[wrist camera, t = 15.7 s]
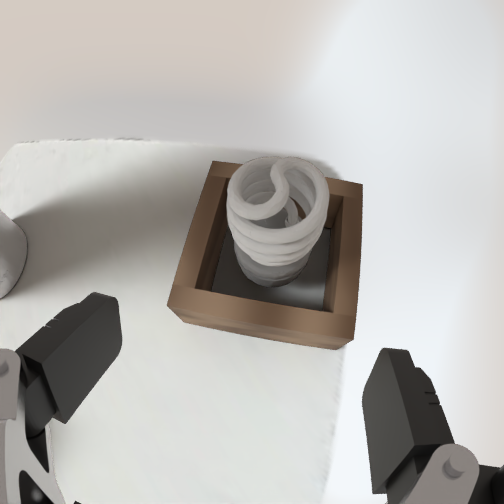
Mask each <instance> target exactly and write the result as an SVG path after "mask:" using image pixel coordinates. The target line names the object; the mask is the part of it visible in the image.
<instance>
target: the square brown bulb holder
mask: <svg viewBox="0 0 504 504" xmlns="http://www.w3.org/2000/svg"><path fill="white" fill-rule="evenodd" d="M242 165H244V164H236V163H227V162H219V161H212V164H211V167H210V170H209V173H208V176H207V178H206V181H205V184H204V187H203V190H202V193H201V196H200V199H199V202H198V205H197V208H196V211H195V214H194V217H193V220H192V223H191V226H190V229H189V232H188V236H187V239H186V242H185V245H184V248H183V252H182V255H181V258H180V262H179V265H178V268H177V272H176V275H175V278H174V282H173V285H172V289H171V292H170V296H169V299H168V303H167V306H168V307H169V308H170V309H171V310H172V311H173V312H174V313H175V314H176V315H177V316H178V317H179V318H180V319H181V320H182V321H183V322H185V323H189V324H194V325H198V326H203V327H207V328H212V329H217V330H222V331H226V332H231V333H236V334H242V335H247V336H252V337H257V338H263V339H268V340H274V341H280V342H286V343H292V344H298V345H305V346H311V347H318V348H325V349H332V350H336V349H338V348H340V347H342V346H343V345H345V344H347V343H349V342H350V341H352V340H353V339H354V331H355V323H356V313H357V303H358V290H359V277H360V262H361V260H360V259H361V242H362V207H363V205H362V204H363V202H362V201H363V185H362V184H358V183H354V182H348V181H344V180H338V179H333V178H328V177H325V179H326V181H327V184H328V189H329V204H328V209H327V217H326V221H325V224H324V226H323V227H327V228H331V237H330V248H329V258H328V267H327V276H326V284H325V293H324V301H323V308H322V311H316V310H310V309H304V308H298V307H292V306H286V305H280V304H274V303H268V302H263V301H257V300H252V299H246V298H241V297H236V296H230V295H225V294H220V293H215V292H211V288H212V284H213V280H214V276H215V272H216V269H217V265H218V261H219V257H220V253H221V249H222V245H223V242H224V238H225V234H226V230H227V226H228V219H227V206H226V205H227V196H228V193H227V189H228V184H229V181H230V179H231V177H232V175H233V174H234V173H235V172H236V171H237V170H238V169H239V167H241V166H242ZM264 192H268V191H264ZM273 192H274V191H273ZM289 197H290V196H289ZM290 198H291V197H290ZM291 199H292V200H293V201H294V203H295V205H296V208H297V211H298V216H299V217H300V218H301V219H302V220H303V219H305V218H306V214H305V212H304V210H303V208H302V207H301V206H300V205H299V204H298V202H297V201H296V200H294V199H293V198H291ZM283 209H285V208H284V207H283Z"/></svg>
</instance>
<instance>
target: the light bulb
mask: <svg viewBox="0 0 504 504" xmlns="http://www.w3.org/2000/svg"><path fill="white" fill-rule="evenodd" d="M264 191H268V192H264ZM273 191H274V192H273ZM227 193H228V196H227V205H226V206H227V219H228V224H229V227H230V230H231V233H232V236H233V238H234V251H235V254H236V257H237V260H238V263H239V266H240V267H241V269H242V271H243V273H244V274H245V275H246V277H247V278H248V279H250V280H252V281H253V282H255V283H256V284H258V285H261V286H265V287H279V286H283V285H286V284H288V283H290V282H291V281H293V280H294V279H296V278H297V277H298V275H299V274H300V273H301V271H302V270H303V269H304V267H305V266H306V264H307V262H308V259H309V257H310V254H311V250H312V247H313V246H314V244H315V243H316V242H317V241H318V239H319V237H320V235H321V233H322V230H323V226H324V224H325V221H326V217H327V209H328V204H329V189H328V184H327V181H326V179H325V177H324V175H323V173H322V172H321V171H320V170H319V169H318V168H317V167H315V166H314V165H313V164H311V163H310V162H308V161H305V160H303V159H300V158H296V157H287V158H280V157H262V158H258V159H254V160H251V161H249V162H247V163H245V164H244V165H242V166H241V167H239V169H238V170H237V171H236V172H235V173H234V174H233V175H232V177H231V179H230V181H229V184H228V189H227ZM289 196H290V197H291V198H293V199H294V200H296V201H297V202H298V204H299V205H300V206H301V207H302V208H303V210H304V212H305V214H306V218H305V219H303V220H302V219H301V218H300V217H299V216H298V211H297V208H296V205H295V203H294V201H293V200H292V199H291V198H290V197H289ZM283 207H284V208H285V209H283Z"/></svg>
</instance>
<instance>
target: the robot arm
mask: <svg viewBox="0 0 504 504" xmlns="http://www.w3.org/2000/svg"><path fill="white" fill-rule="evenodd" d="M26 256H27V240H26V236H25V234H24V232H23V230H22V229H21V228H20V227H19V226H18V225H16V224H15V223H14V222H13V221H12V220H11V219H10V218H9V217H8V216H7V215H6V214H4V213H3V212H2V211H1V210H0V298H2V297H3V296H5V295H6V294H7V293H8V292H9V291H10V290H11V289H12V288H13V287H14V285H15V284H16V282H17V281H18V279H19V277H20V275H21V273H22V270H23V267H24V264H25V260H26ZM121 346H122V332H121V324H120V315H119V305H118V301H117V299H116V298H115V297H111V296H108V295H104V294H100V293H97V292H93V293H91V294H90V295H89V296H87V297H86V298H85V299H84V300H83V301H81V302H80V303H77V304H74V305H72V306H70V307H67V308H65V309H63V310H62V311H61V312H60V313H59V314H57V315H56V316H55V317H54V319H53V320H52V319H51V320H50V321H49V322H48V323H47V324H46V326H45V327H44V326H43V327H42V328H41V329H40V330H38V331H37V332H36V333H35V334H34V335H33V336H32V337H30V338H29V339H28V340H27V341H26V342H25V343H24V344H22V345H21V346H20V347H19V348H18V349H17V350H16V351H15V352H14V351H12V350H9V349H0V504H66V503H65V500H64V497H63V495H62V492H61V490H60V488H59V486H58V484H57V480H56V476H55V469H54V462H53V454H52V445H51V435H50V427H49V424H48V422H49V421H50V420H51V418H52V417H53V418H55V419H57V420H58V421H60V422H62V423H64V424H66V423H67V422H68V420H69V419H70V418H71V416H72V415H73V414H74V412H75V411H76V409H77V408H78V407H79V405H80V404H81V403H82V402H83V400H84V399H85V398H86V396H87V395H88V394H89V392H90V391H91V390H92V388H93V387H94V386H95V384H96V383H97V382H98V381H99V379H100V378H101V377H102V375H103V374H104V373H105V371H106V370H107V369H108V368H109V366H110V365H111V364H112V363H113V361H114V360H115V359H116V357H117V356H118V354H119V352H120V350H121ZM435 393H436V391H435V389H434V386H433V384H432V381H431V379H430V378H429V377H428V376H427V375H426V374H425V373H424V371H423V370H422V369H421V368H417V367H415V366H414V363H413V361H412V358H411V356H410V353H409V351H407V350H402V349H392V348H383V349H382V350H381V351H380V353H379V355H378V358H377V360H376V362H375V364H374V367H373V369H372V372H371V374H370V376H369V378H368V381H367V383H366V385H365V388H364V391H363V396H362V407H363V414H364V421H365V429H366V436H367V444H368V453H369V462H370V471H371V482H372V493H373V494H387V500H388V501H387V502H386V503H385V504H504V465H503V466H502V467H501V468H499V467H492V466H485V465H479V464H478V461H477V459H476V457H475V456H474V454H473V453H472V452H471V451H470V450H468V449H467V448H465V447H463V446H461V445H458V444H455V443H454V440H453V437H452V434H451V431H450V428H449V426H448V423H447V420H446V417H445V414H444V412H443V409H442V406H441V405H439V404H440V402H439V399H438V396H437V395H436V394H435ZM74 504H81V503H79V502H77V501H75V502H74Z"/></svg>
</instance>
